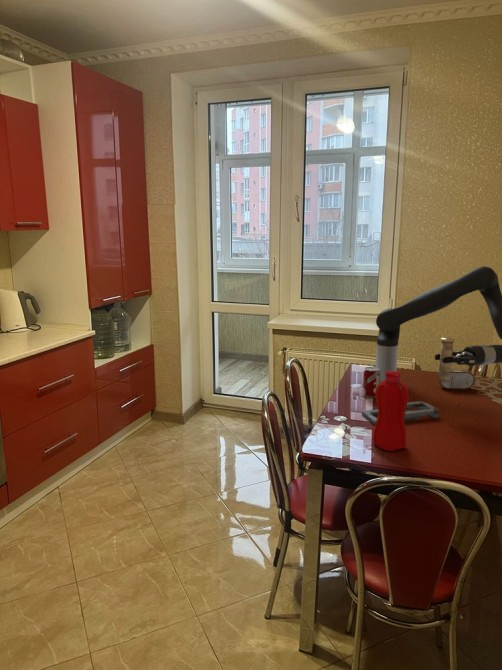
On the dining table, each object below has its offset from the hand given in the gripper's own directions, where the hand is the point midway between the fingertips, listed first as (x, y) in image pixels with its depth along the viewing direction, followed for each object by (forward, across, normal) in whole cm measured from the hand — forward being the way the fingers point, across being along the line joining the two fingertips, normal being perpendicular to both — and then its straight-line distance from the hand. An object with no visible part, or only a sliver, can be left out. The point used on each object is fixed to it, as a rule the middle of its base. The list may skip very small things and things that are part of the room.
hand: (439, 358), depth 176 cm
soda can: (+14, -24, +22) cm, 36 cm away
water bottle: (+30, +20, +22) cm, 42 cm away
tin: (-26, -23, +22) cm, 41 cm away
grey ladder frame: (+14, -2, +22) cm, 26 cm away
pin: (-3, 0, +8) cm, 9 cm away
